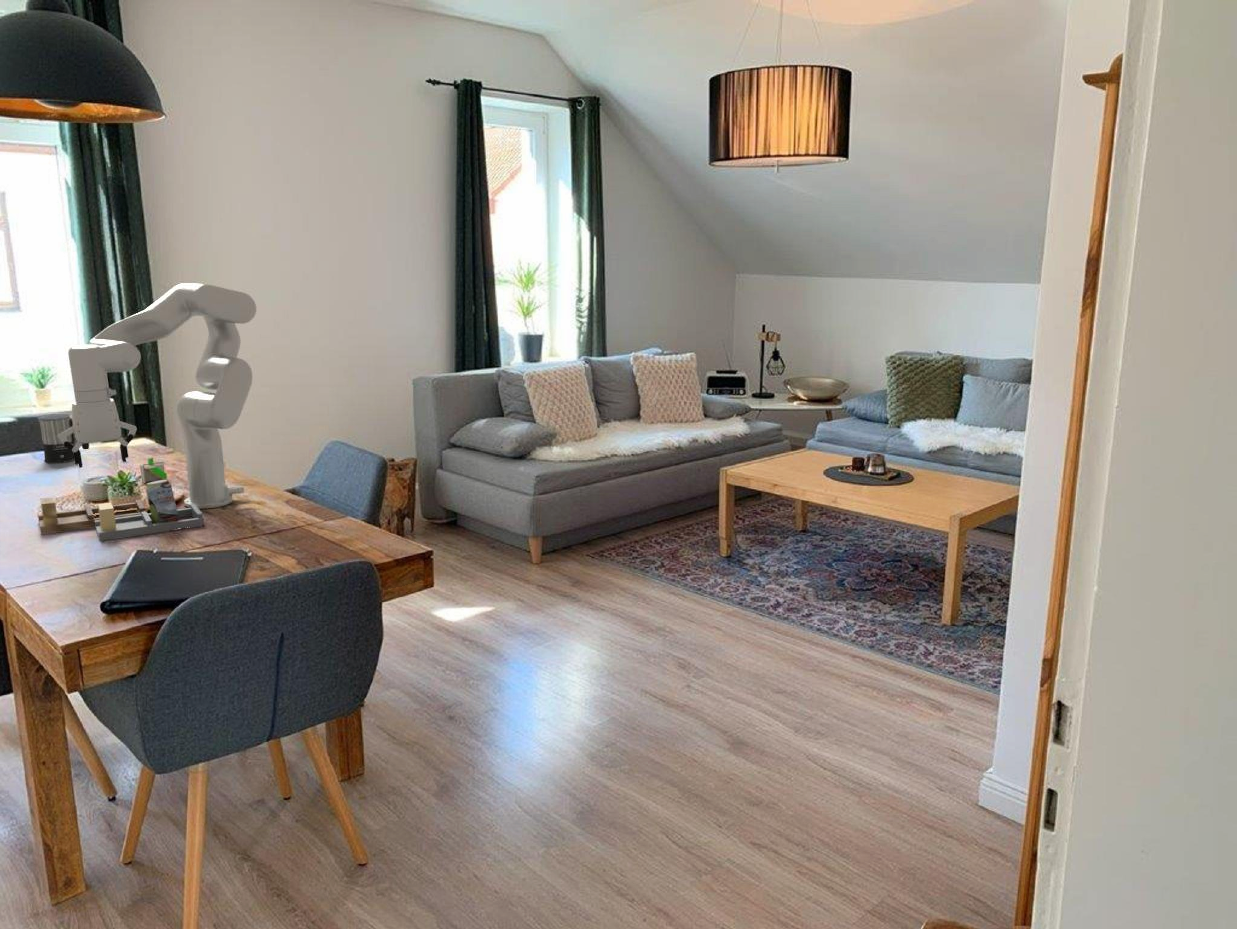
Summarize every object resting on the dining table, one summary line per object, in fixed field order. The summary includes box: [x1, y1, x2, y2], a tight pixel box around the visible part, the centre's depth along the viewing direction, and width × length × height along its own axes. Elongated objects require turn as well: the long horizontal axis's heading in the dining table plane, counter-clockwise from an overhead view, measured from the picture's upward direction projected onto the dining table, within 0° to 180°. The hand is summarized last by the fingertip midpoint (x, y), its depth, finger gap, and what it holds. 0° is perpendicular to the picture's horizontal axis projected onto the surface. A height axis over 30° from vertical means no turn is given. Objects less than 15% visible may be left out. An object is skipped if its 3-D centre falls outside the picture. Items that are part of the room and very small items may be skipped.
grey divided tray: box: [94, 502, 205, 542], centre depth 244 cm, size 24×12×7 cm, turn 123°
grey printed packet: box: [145, 479, 180, 524], centre depth 245 cm, size 6×7×12 cm
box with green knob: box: [139, 457, 168, 484], centre depth 288 cm, size 4×7×8 cm, turn 136°
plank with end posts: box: [37, 496, 146, 535], centre depth 248 cm, size 24×12×7 cm, turn 123°
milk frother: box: [37, 413, 90, 464], centre depth 316 cm, size 14×16×15 cm
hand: (102, 463), depth 236 cm, fingers open, 9 cm apart
